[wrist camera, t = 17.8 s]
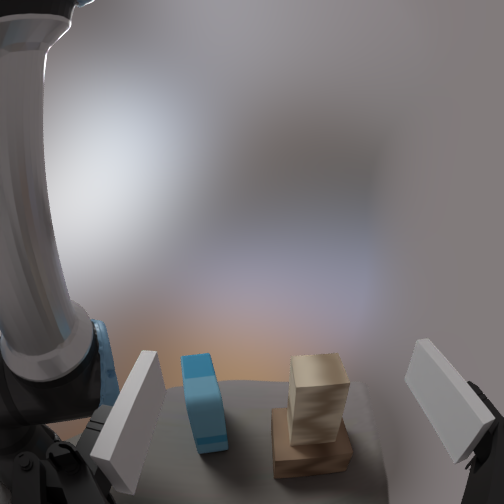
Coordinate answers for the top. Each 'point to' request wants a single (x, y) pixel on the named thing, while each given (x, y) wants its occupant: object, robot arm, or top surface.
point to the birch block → (316, 398)
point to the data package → (204, 403)
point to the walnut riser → (306, 451)
